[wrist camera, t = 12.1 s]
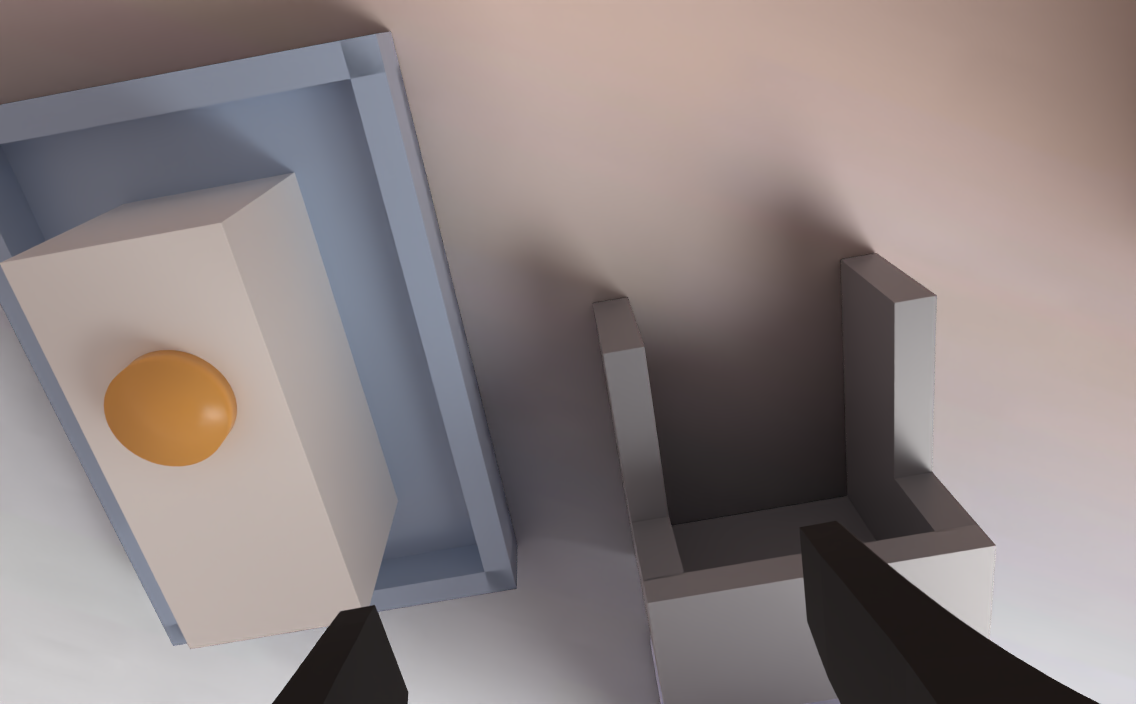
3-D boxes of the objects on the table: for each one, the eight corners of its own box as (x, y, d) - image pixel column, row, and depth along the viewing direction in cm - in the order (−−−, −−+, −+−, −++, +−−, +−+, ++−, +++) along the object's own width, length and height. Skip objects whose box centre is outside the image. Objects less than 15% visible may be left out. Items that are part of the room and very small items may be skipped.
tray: (517, 546, 25) (516, 588, 23) (199, 599, 25) (173, 645, 23) (391, 31, 19) (376, 33, 17) (-32, 111, 19) (-92, 122, 17)
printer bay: (878, 516, 25) (987, 674, 19) (635, 556, 25) (668, 725, 19) (876, 253, 22) (1009, 347, 16) (592, 303, 22) (616, 414, 16)
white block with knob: (398, 500, 23) (360, 638, 18) (256, 524, 24) (180, 668, 18) (294, 172, 19) (209, 230, 14) (124, 203, 19) (-21, 272, 14)
